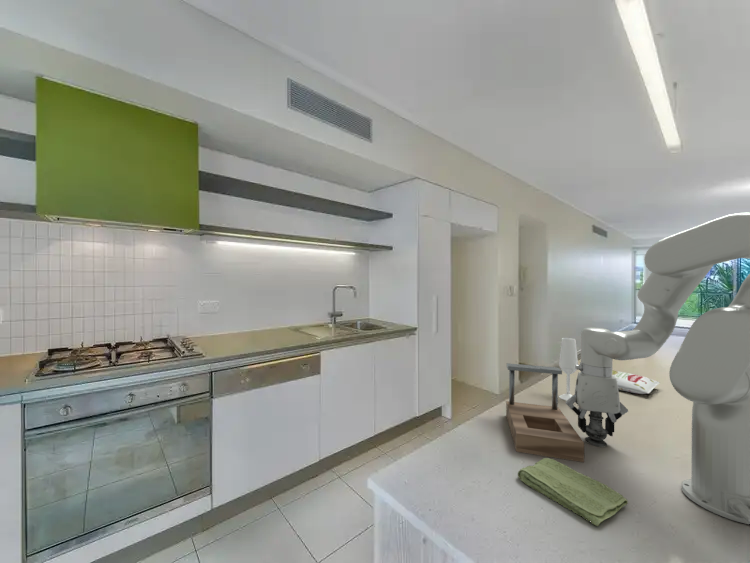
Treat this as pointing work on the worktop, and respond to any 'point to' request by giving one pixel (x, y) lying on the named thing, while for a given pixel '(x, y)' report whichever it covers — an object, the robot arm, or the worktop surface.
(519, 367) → the grey metal arch
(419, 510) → the worktop surface
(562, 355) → the champagne flute
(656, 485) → the worktop surface
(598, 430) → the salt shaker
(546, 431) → the socket board
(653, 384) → the frozen beans
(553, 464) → the washcloth
